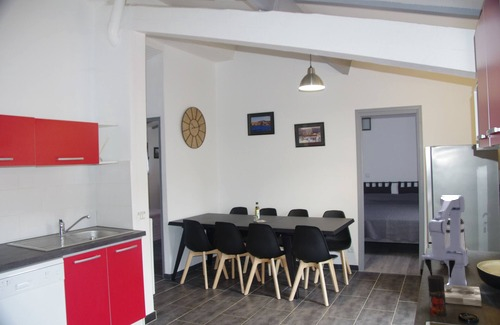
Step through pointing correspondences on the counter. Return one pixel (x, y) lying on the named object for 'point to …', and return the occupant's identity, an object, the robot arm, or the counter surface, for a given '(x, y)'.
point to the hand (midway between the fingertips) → (440, 276)
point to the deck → (463, 295)
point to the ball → (448, 287)
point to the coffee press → (447, 236)
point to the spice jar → (437, 295)
